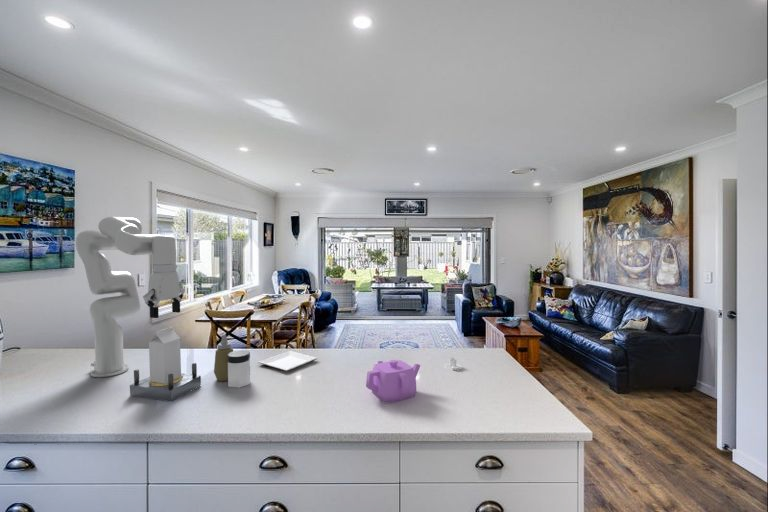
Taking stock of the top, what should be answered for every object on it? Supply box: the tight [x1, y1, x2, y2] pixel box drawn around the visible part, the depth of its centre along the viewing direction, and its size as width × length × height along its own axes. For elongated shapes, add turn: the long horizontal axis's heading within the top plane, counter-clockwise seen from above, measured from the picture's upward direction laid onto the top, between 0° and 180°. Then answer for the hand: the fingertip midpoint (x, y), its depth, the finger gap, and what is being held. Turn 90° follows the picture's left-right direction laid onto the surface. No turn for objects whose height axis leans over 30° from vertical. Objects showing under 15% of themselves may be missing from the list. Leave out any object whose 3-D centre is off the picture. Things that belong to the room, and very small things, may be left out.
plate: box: [258, 350, 318, 372], centre depth 166 cm, size 19×19×2 cm
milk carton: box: [148, 326, 182, 384], centre depth 136 cm, size 7×7×19 cm
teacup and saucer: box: [443, 357, 463, 371], centre depth 162 cm, size 9×8×4 cm
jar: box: [227, 349, 251, 389], centre depth 143 cm, size 9×8×12 cm
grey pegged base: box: [129, 362, 202, 403], centre depth 136 cm, size 18×14×9 cm
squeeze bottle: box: [213, 334, 234, 382], centre depth 147 cm, size 8×8×18 cm
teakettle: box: [365, 359, 421, 404], centre depth 135 cm, size 17×17×12 cm
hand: (165, 314), depth 136 cm, fingers open, 9 cm apart
